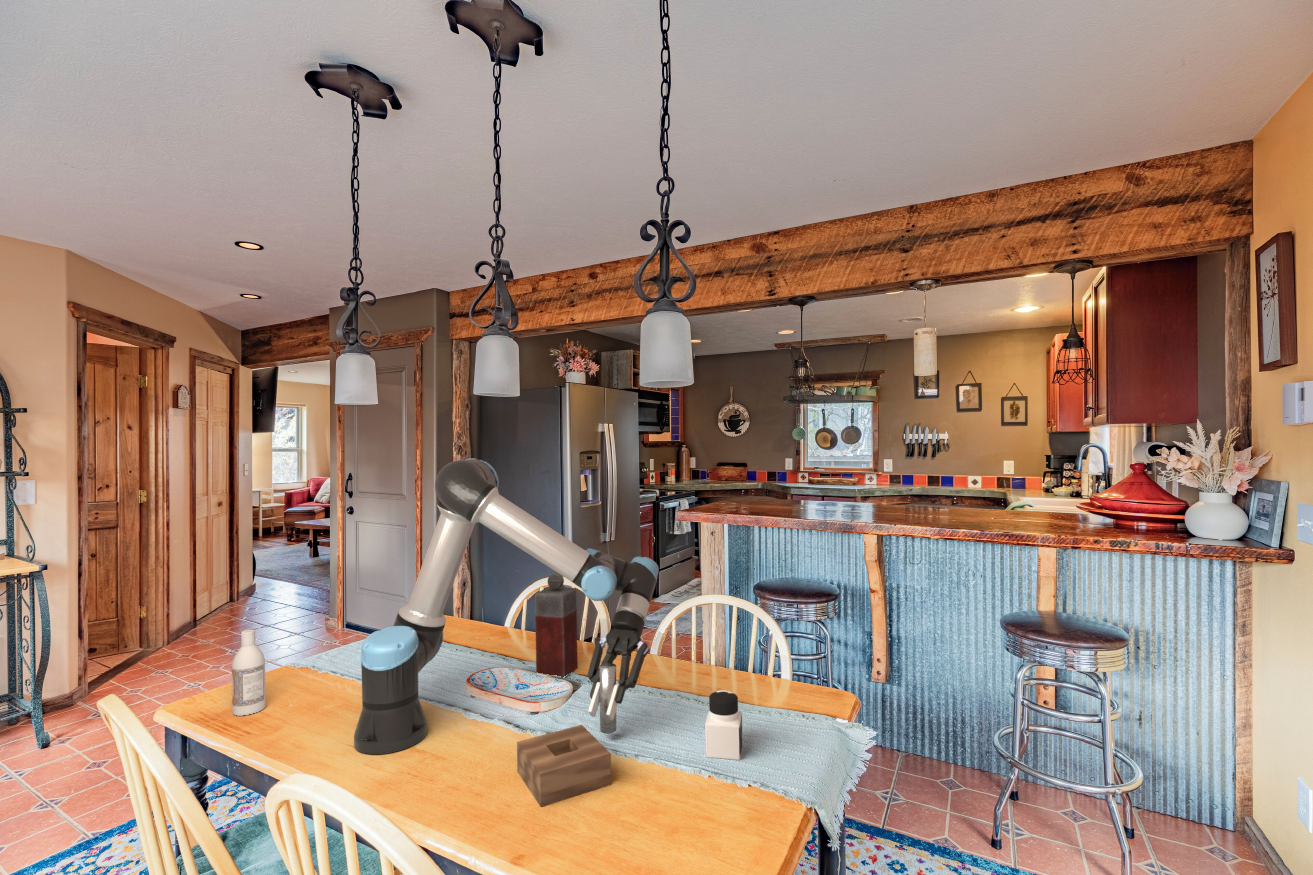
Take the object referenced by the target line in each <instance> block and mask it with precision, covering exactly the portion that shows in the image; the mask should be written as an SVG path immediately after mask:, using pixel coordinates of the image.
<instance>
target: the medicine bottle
mask: <svg viewBox="0 0 1313 875" xmlns="http://www.w3.org/2000/svg"><path fill="white" fill-rule="evenodd" d="M708 699H709V700H708V704H709V706H708V713H707V717H706V720H705V724H704V727H705V728H704V730H705V731H704V732H705V735H704V736H705V757H706V758H709V759H720V760H721V759H722V760H732V761H740V760H741V757H742V752H743V751H742V750H743V712H742V711H740V710H739V698H738V695H737V694H736V693H735V692H733V691H729V690H717V691H713V692H711V693H710V695H709V697H708Z"/></svg>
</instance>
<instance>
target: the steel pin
mask: <svg viewBox="0 0 1313 875" xmlns="http://www.w3.org/2000/svg"><path fill="white" fill-rule="evenodd" d="M599 667H600V703H599V731H600V733H602V734H604V735H605V734H607V735H609V734H614V733H616V732H617V711H616V712H615V715H614V719H613V720H610V719H609V718H608V716H607V715H606V713H607V710H608V706H609V703H610V699H611V696H612V693H613V689H614V686H615V685H617V665H616V664H615V663H604V664H601V663H600V665H599Z"/></svg>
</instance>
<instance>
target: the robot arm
mask: <svg viewBox="0 0 1313 875" xmlns="http://www.w3.org/2000/svg"><path fill="white" fill-rule="evenodd" d="M499 484H500V483H499V476H498V473H497V471H496V470H495V468H494V467H493V466H492V465H491V464H490V463H489V462H487V461H485V460H481V459H478V458H467V459H459V460H454V461H451V462H448V463H447V464H446V465H444V466H443V467H442V468H441V469H440V470H439V471H438V473H437V475H436V478H435V481H434V491H435V495H436V496H437V498H438V501H437V504H436V506H437V508H438V510H439V512H440V515H439V517H438V520H437V523H436V526H435V529H434V532H433V534H432V537H431V539H430V543H429V545H428V548H427V551H426V554H425V556H424V559H423V562H422V564H421V567H420V571H419V573H418V576H417V578H416V581H415V584H414V586H413V590H412V592H411V595H410V597H409V601H408V603H407V604H405V605H404V606H401V607H399V609H398V612H397V614H396V618H395V619H394V620H395V621H394V622H393V625H392V626H389V627H388V626H387V627H383V628H381V630H380V629H379V630H376V631H373V632H372V633H370V634H369V635H368V636H366V637H365V639H364V640H363V641H362V645H361V654H360V663H361V664H360V665H361V697H362V698H361V699H362V700H361V701H362V706H361V712H360V715H359V718H358V722H357V724H356V728H355V731H354V735H353V747H354V749H355V750H356V751H358V752H359V753H361V752H362V754H365V753H367V755H385V754H391V753H396V752H400V751H403V750H406V749H408V748H411V747H413V746H415V745H416V744H418V743H420V742H421V741H422V740H423V739H425V737H426V736H427V734H428V720H427V718H426V714H425V712H424V709H423V706H422V705H421V701H420V698H419V673H420V672H421V671H422V670H423V668H425V666H426V665H427V664H428V663H429V662H430V661H432V660H433V659H434V658H435V657H436V655H437V654H438V653H439V651H440V650H441V647H442V645H443V641H444V629H445V626H446V623H447V618H446V617H445V615H444V610H445V607H446V605H447V602H448V599H449V596H450V594H451V591H452V588H453V585H454V583H455V580H456V577H457V575H458V571H459V570H460V567H461V563H462V560H463V558H464V556H465V553H466V549H467V546H468V544H469V541H470V539H471V536H472V533H473V530H474V527H475V524H477V523H480V524H481V525H483V526H484V527H486V528H487V529H489V530H491V531H492V532H494V533H496V534H497V535H498V536H500V537H501V538H503V539H504V540H506V541H508V542H509V543H511V544H512V545H514V546H516V547H517V548H518V549H520V550H522V551H523V552H525V553H526V554H528V555H529V556H532V557H533V558H534V559H536V560H537V561H538V562H541V564H543V565H545V566H546V567H547V568H550V569H551V570H553V571H555V572H556V573H558V574H560V575H562V576H563V578H564V579H567V580H568V581H570V582H571V583H573V584H575V586H577V587H579V588H580V589H581V590H582V593H583V594H584V595H585V596H586V597H587V598H588V599H590V600H591V601H594V602H602V601H605V600H607V599H609V598H610V597H611V596H612V595H613V593H614V592H615V591H617V592H620V593H621V594H620V596H619V599H618V602H617V606H616V609H615V613H614V615H613V618H612V620H611V624H610V630H609V632H608V633H607V634H606V635H605V636H604V637H601V638H600V637H599V636H595V637H594V649H593V653H592V656H591V660H590V664H589V668H588V672H587V675H586V677H587V678H588V680H589V681H590V682H591V683H592V686H591V690H590V692H589V698H590V699H591V701H590V703H589V707H588V711H587V712H588V713H589V715H590V716H591V717H592V718H596V715H597V713H598V710H599V707H600V665H601V664H604V663H613V662H614V661H615V660H616V658H617V657H618V656H621V662H620V669H619V679H618V681H617V683H618V684H616V685H615V686H614V689H613V693H612V696H611V699H610V703H609V706H608V710H607V713H606V715H607V716H608V718H609V719H610V720H613V719H614V715H615V712H616V713H617V707H618V705H621V704H622V703H623V700H624V697H625V693H626V690H627V689H635V687H636V685H637V682H638V679H639V676H640V673H641V671H642V667H643V663H644V660H645V657H647V655H648V654H649V652H650V651H651V648H650V646H649V645H648V643H647V642H643V641H642V639H641V637H642V634H643V631H644V627H645V621H646V620H647V616H648V612H649V610H650V605H651V602H652V598H653V595H654V592H655V589H656V584H657V580H658V575H659V570H660V569H659V565H658V564H657V562H656V561H654V560H653V559H651V558H650V557H647V556H643V557H642V556H635V557H633V559H631V561H627V560H624V559H621V558H619V557H615V556H613V555H611V554H609V553H608V554H607V553H605V552H603V551H601V550H597V549H594V548H586V549H584V548H582V547H580V546H579V545H577V544H576V543H574V542H572V540H570V539H568V538H567V537H566V536H564V535H562V534H560V533H559V532H558V531H556V530H554V529H553V528H551V527H550V526H548V525H547V524H545V523H544V522H542V521H541V520H539V519H537V518H536V517H534V516H533V515H531V514H530V513H528V512H527V511H526V510H524V509H522V507H519V506H517V505H516V504H515V503H513V502H512V501H510V500H509V499H507V498H506V497H504V496H502V495H501V494H500V493H499V489H498V488H499ZM606 644H607V646H608V647H607V649H606V651H605V652H606V653H605V656H604V657H603V654H604V653H603V652H604V649H605V647H606ZM636 649H637V652H636V653H635V657H634V660H633V663H632V666H631V667H630V665H631V664H630V663H631V660H632V653H633V652H635V651H636ZM602 657H603V659H602ZM613 664H614V663H613ZM630 668H631V669H630Z"/></svg>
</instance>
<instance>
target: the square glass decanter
mask: <svg viewBox="0 0 1313 875" xmlns="http://www.w3.org/2000/svg"><path fill="white" fill-rule="evenodd" d="M564 582H565V577H563V576H562V575H560V574H559V573H557V572H556V573H553V574H551V575H549V576H548V578H547V586H548V587H546V588H544V589H542V590H540V591H538V592H536V593H535V595H534V606H535V607H534V611H535V612H534V613H535V616H534V618H535V620H534V621H535V671H536V672H538V673H543V674H549V675H557V676H561V677H564V676H566V675H567V674H569V673H571V672H572V673H573V672H574V671H576V670H577V669H579V668H578V628H577V627H578V622H577V621H578V615H577V613H578V612H577V610H578V609H577V605H578V604H577V589H576V587H571V586H570V587H567V586H563V585H564V584H565V583H564ZM572 673H571V674H572Z"/></svg>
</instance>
